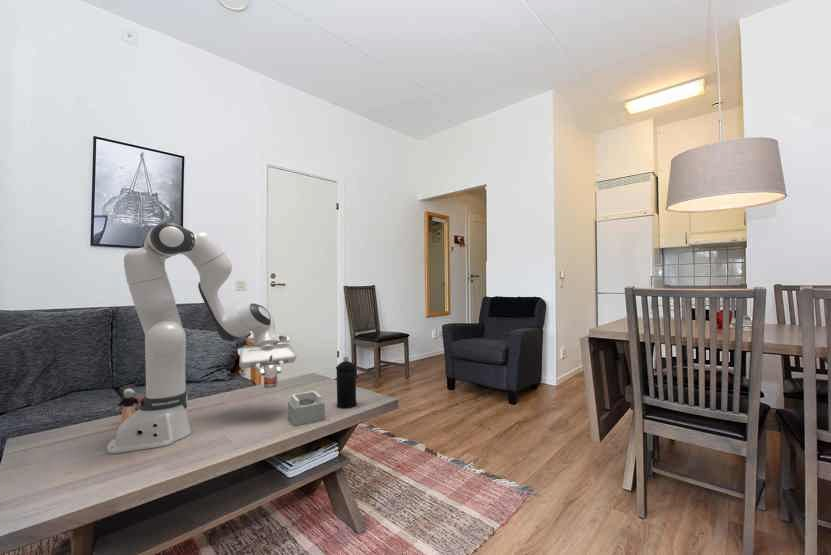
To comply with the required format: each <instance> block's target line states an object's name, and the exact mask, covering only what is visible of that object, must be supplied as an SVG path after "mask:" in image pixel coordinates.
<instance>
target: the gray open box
mask: <svg viewBox="0 0 831 555" xmlns="http://www.w3.org/2000/svg"><path fill="white" fill-rule="evenodd" d="M287 404H288V407H287V408H288V409H287V410H288V411H287V412H288V413H287V414H288V415H287V417H288V419H289V420H290V422H291V423H292V425H293V426H294V427H295V426H300V425H305V424H310V423H314V422H315V423H316V422H319V421H323V420H326V412H325V409H326V407H325V405H326V403H325V402H324V401H323V399H322V396H321V395H320V394H319V393H318V392H317V391H316V390H311V391H305V392H300V393H293V394H291V395H290V400H289V401H287Z"/></svg>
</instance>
